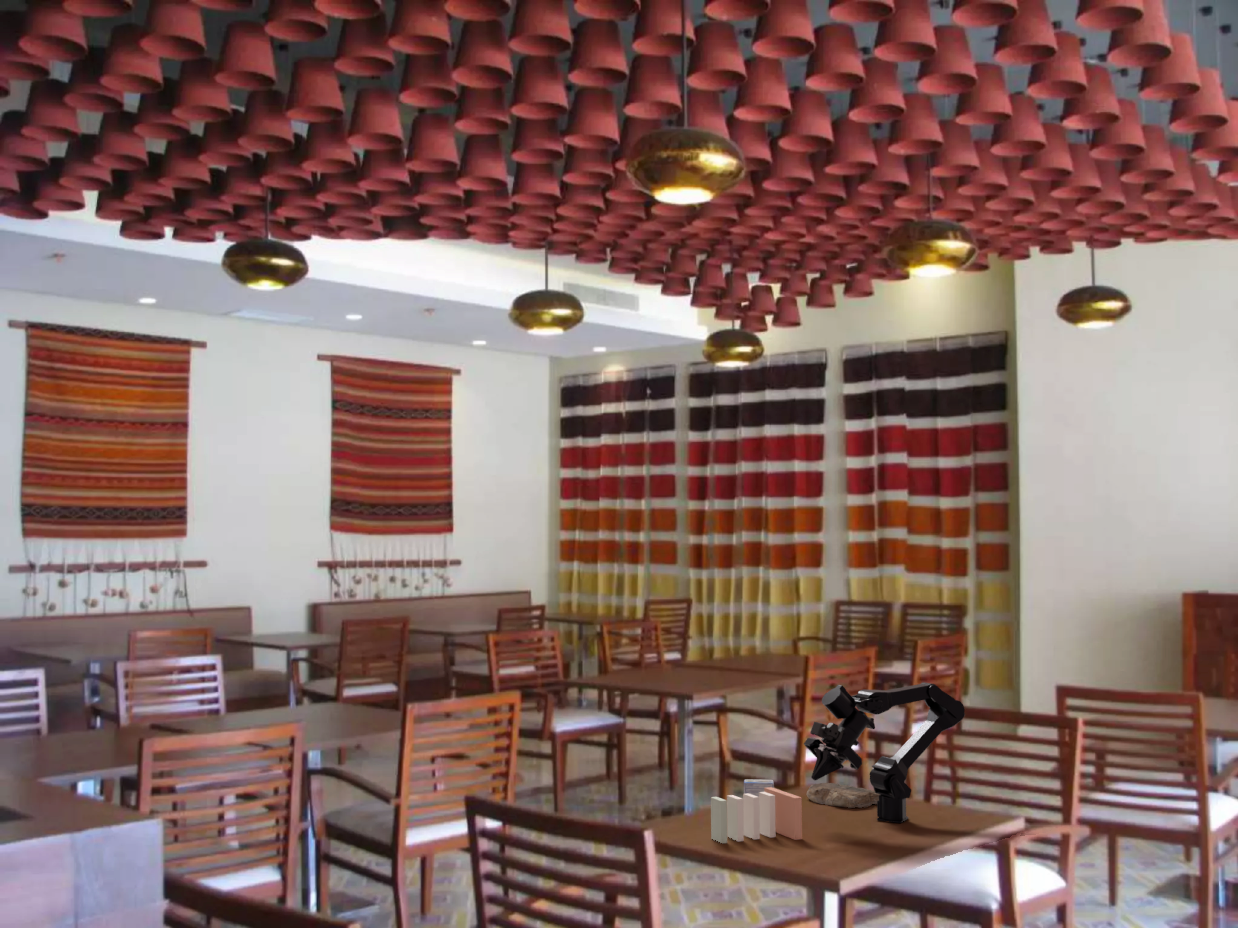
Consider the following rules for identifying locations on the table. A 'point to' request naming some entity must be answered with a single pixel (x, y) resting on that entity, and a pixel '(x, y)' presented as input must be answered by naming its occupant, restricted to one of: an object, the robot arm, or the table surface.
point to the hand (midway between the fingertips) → (813, 778)
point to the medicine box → (756, 786)
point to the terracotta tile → (787, 813)
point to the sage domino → (719, 819)
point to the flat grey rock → (841, 795)
